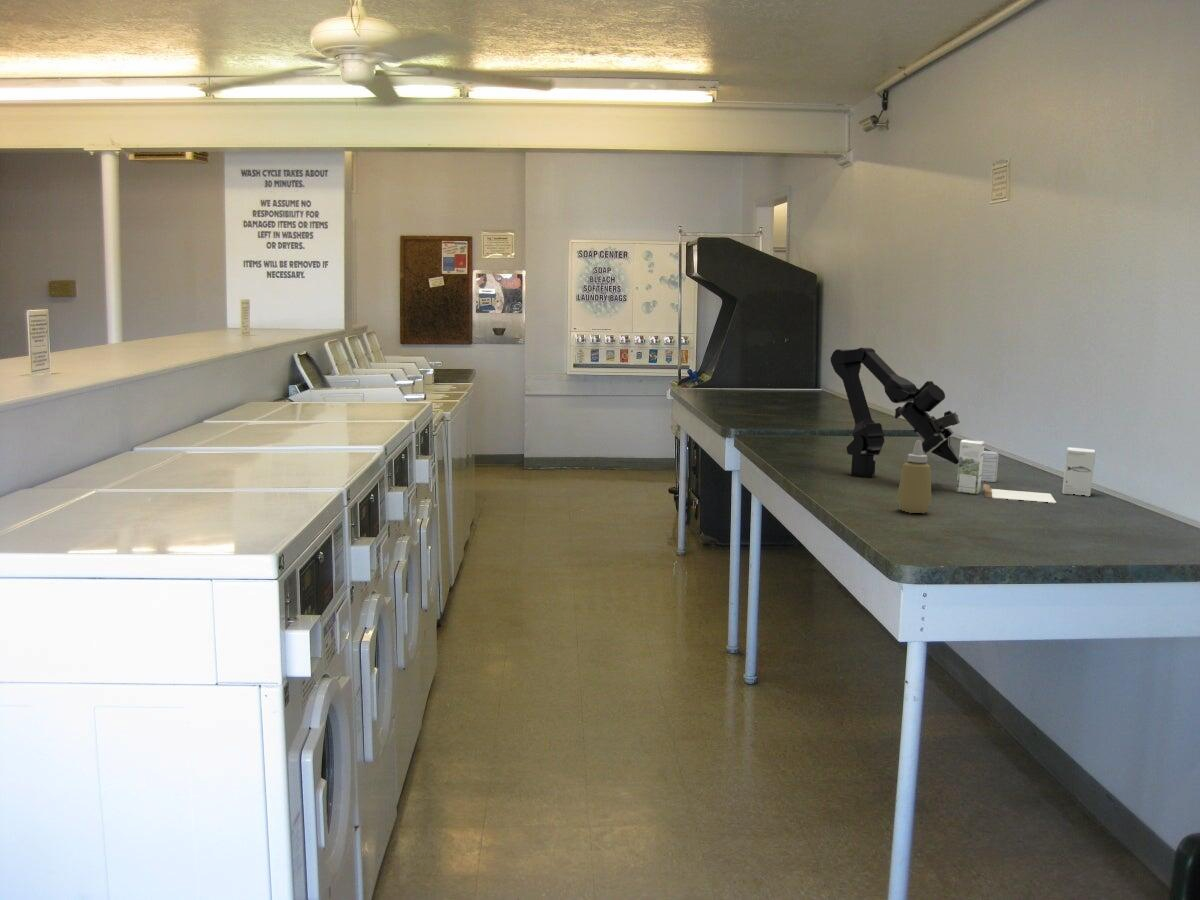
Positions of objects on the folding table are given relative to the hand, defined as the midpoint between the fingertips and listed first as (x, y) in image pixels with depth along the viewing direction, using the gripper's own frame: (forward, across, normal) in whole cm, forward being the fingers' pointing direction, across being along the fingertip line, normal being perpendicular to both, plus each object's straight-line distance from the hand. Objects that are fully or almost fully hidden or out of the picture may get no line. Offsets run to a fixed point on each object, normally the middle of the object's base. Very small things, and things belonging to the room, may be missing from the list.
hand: (958, 463), depth 300 cm
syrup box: (+8, 0, +3) cm, 9 cm away
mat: (+18, +3, -6) cm, 19 cm away
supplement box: (+27, +18, -15) cm, 36 cm away
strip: (+11, +1, 0) cm, 11 cm away
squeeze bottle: (+3, -39, +9) cm, 40 cm away
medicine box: (+8, +24, +3) cm, 25 cm away
